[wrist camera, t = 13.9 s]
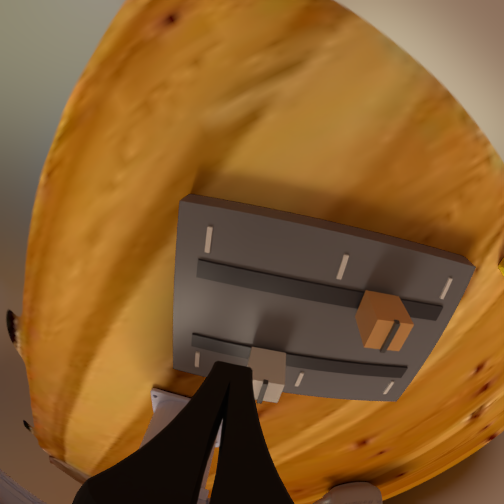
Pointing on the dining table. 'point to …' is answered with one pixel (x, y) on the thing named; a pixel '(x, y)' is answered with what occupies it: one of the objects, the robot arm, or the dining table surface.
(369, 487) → the teacup
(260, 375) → the fader ivory
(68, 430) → the dining table surface
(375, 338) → the fader orange
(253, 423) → the robot arm
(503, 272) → the watch
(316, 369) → the fader panel
